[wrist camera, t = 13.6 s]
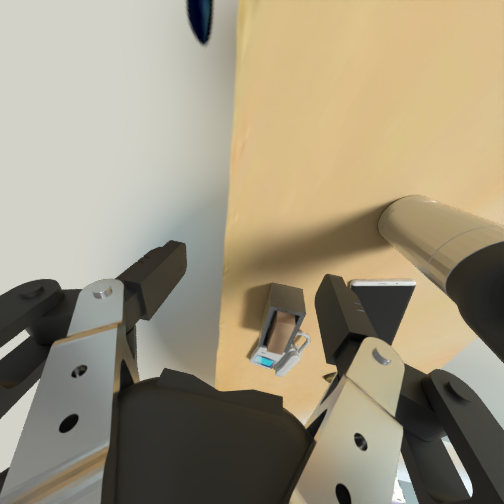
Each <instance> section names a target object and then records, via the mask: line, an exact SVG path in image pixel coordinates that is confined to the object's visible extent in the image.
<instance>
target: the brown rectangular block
mask: <svg viewBox="0 0 504 504" xmlns="http://www.w3.org/2000/svg"><path fill="white" fill-rule="evenodd" d="M295 326H296V325H295V315H294V314H289V313H285V312H280V311H275V314H274V317H273V320H272V323H271V326H270V329H269V332H268V339H267V352H271V353H275V354H279V355H282V354H283V352H284V350H285V348H286V345H287V343H288V341H289V339H290V337H291V334H292V332H293V330H294V328H295Z"/></svg>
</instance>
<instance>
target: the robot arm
mask: <svg viewBox="0 0 504 504" xmlns="http://www.w3.org/2000/svg"><path fill="white" fill-rule="evenodd" d="M378 230H379V232H380V234H381V235H382V237H383V238H385V239H386V240H387V241H388V242H389V243H390V244H391V245H392V246H393V247H394V248H395V249H396V250H398V251H399V252H400V253H401V254H402V255H403V256H404V257H405V258H406V259H407V260H409V261H410V262H411V263H412V264H413V265H414V266H415V267H416V268H417V269H418V270H419V271H421V272H422V273H423V274H424V275H425V276H426V277H427V278H428V279H429V280H430V281H432V282H433V283H434V284H435V285H436V286H437V287H438V288H439V289H441V290H442V291H443V292H444V293H445V294H446V295H447V296H448V297H449V298H450V299H451V300H452V301H454V302H455V303H456V304H457V306H458V309H459V312H460V314H461V316H462V318H463V319H464V321H465V322H466V323H467V325H468V326H469V327H470V328H471V329H472V330H473V331H474V332H475V333H476V334H477V335H478V336H479V337H480V339H482V341H483V342H484V343H485V344H486V345H487V346H488V347H489V348H490V349H491V350H492V351H493V352H494V353H495V354H496V355H497V357H498V358H499V359H500V360H501V361H502V362H503V363H504V225H501V224H498V223H495V222H493V221H490V220H487V219H484V218H482V217H479V216H476V215H473V214H471V213H468V212H465V211H462V210H460V209H457V208H454V207H451V206H449V205H446V204H443V203H441V202H438V201H435V200H432V199H430V198H427V197H424V196H419V195H416V196H408V197H404V198H401V199H399V200H397V201H395V202H394V203H392V204H391V205H390V206H388V207H387V208H386V209H385V210H384V212H383V213H382V215H381V217H380V219H379V223H378ZM186 268H187V259H186V245H185V243H182V242H177V241H173V240H171V241H169V242H168V243H167V244H165V245H164V246H163V247H158V248H155V249H153V250H151V251H149V252H148V253H147V254H145V255H144V257H142V258H140V259H139V260H138V262H135V263H134V264H133V265H132V266H130V267H129V268H128V269H127V270H125V271H124V272H123V273H122V274H120V275H119V276H118V277H117V278H115V279H103V280H99V281H96V282H94V283H92V284H89V285H88V286H86V287H85V288H84V289H70V290H62V289H61V287H60V285H59V283H58V282H57V281H55V280H51V279H41V280H35V281H30V282H27V283H24V284H22V285H19V286H17V287H15V288H13V289H11V290H9V291H8V292H6V293H4V294H2V295H1V296H0V347H2V346H3V345H5V344H6V343H7V342H8V341H10V340H11V339H13V338H14V337H15V336H17V335H18V334H19V333H20V332H22V331H23V330H24V329H25V330H26V331H27V332H28V334H29V335H30V337H28V338H27V339H26V340H25V341H23V342H22V343H21V344H20V345H18V346H17V347H16V348H15V349H13V350H12V351H11V352H10V353H8V354H7V355H6V356H5V357H4V358H2V359H1V360H0V419H1V418H2V416H3V415H5V414H6V413H7V411H8V410H9V409H10V408H11V407H12V406H13V405H14V404H15V403H16V402H17V401H18V400H19V399H20V398H21V397H22V396H23V395H24V394H25V393H26V392H27V391H28V390H29V389H30V388H31V387H32V386H33V385H34V384H35V383H36V382H37V380H39V379H40V381H39V384H38V387H37V390H36V393H35V395H34V399H33V402H32V404H31V407H30V410H29V413H28V416H27V419H26V422H25V424H24V427H23V430H22V433H21V436H20V439H19V442H18V445H17V448H16V451H15V453H14V457H13V459H12V462H11V465H10V467H9V468H7V469H6V470H4V471H3V472H1V473H0V504H391V503H392V497H393V491H394V485H395V479H396V473H397V467H398V461H399V455H400V451H401V453H402V456H403V459H404V462H405V465H406V468H407V471H408V473H409V476H410V479H411V482H412V485H413V488H414V491H415V494H416V496H417V499H418V502H419V504H504V430H503V429H502V427H501V426H500V425H499V423H498V422H497V421H496V419H495V418H494V417H493V415H492V414H491V412H490V411H489V410H488V408H487V407H486V406H485V404H484V403H483V402H482V400H481V399H480V398H479V397H478V395H477V394H476V393H475V392H474V391H473V390H472V389H471V388H470V387H469V386H468V385H467V384H466V383H465V382H463V381H462V380H461V379H459V378H458V377H456V376H455V375H453V374H451V373H449V372H447V371H444V370H440V369H435V370H433V371H432V372H430V373H429V374H428V375H427V374H425V373H423V372H421V371H419V370H417V369H415V368H413V367H411V366H409V365H407V364H405V363H403V361H402V359H401V357H400V356H399V354H398V353H397V352H396V351H395V350H394V349H393V348H392V347H391V346H390V345H388V344H387V343H386V342H384V341H382V340H380V339H379V338H378V336H377V334H376V332H375V330H374V328H373V326H372V324H371V322H370V320H369V318H368V316H367V314H366V313H365V310H364V308H363V306H362V305H361V302H360V300H359V298H358V296H357V295H356V294H355V293H354V292H353V291H352V290H351V289H350V288H348V287H346V284H345V282H344V280H343V278H342V277H340V276H336V275H331V274H326V275H325V276H324V278H323V280H322V282H321V284H320V287H319V289H318V291H317V293H316V295H315V309H316V314H317V318H318V323H319V328H320V333H321V338H322V343H323V348H324V353H325V358H326V363H328V364H332V365H336V367H337V373H336V374H335V375H334V377H333V379H332V381H331V383H330V384H329V386H328V388H327V390H326V391H325V393H324V395H323V397H322V399H321V400H320V402H319V404H318V406H317V407H316V409H315V411H314V412H313V414H312V415H311V416H310V418H309V419H308V421H307V422H306V424H305V426H303V424H302V423H301V422H300V421H299V420H298V419H297V418H296V417H295V416H294V415H293V414H292V413H290V412H289V411H288V410H286V409H285V408H283V397H281V396H277V395H273V394H269V393H265V392H261V391H257V390H239V391H225V392H221V391H218V390H216V389H215V388H213V387H212V386H210V385H208V384H207V383H205V382H204V381H202V380H200V379H199V378H197V377H195V376H194V375H191V374H187V373H183V372H179V371H175V370H171V369H167V368H164V370H163V371H162V373H161V375H160V377H155V378H150V379H146V380H143V381H140V380H139V374H138V367H137V344H136V343H137V342H136V325H135V324H136V323H137V322H138V320H139V319H143V320H148V321H149V320H150V319H151V318H152V316H153V315H154V314H155V312H156V311H157V310H158V308H159V307H160V306H161V304H162V303H163V302H164V301H165V299H166V298H167V297H168V295H169V294H170V293H171V291H172V290H173V289H174V287H175V286H176V285H177V283H178V282H179V281H180V280H181V278H182V277H183V276H184V274H185V272H186ZM444 436H448V438H449V440H450V442H451V443H452V445H453V447H454V449H455V451H456V453H457V455H458V457H459V459H460V460H461V462H462V464H463V466H464V468H465V470H466V472H467V474H468V476H469V478H470V480H471V483H472V488H473V494H472V497H471V498H470V496H469V494H468V492H467V490H466V488H465V486H464V484H463V482H462V480H461V478H460V476H459V474H458V472H457V470H456V468H455V466H454V464H453V462H452V460H451V458H450V456H449V454H448V452H447V450H446V448H445V446H444V444H443V442H442V440H441V438H442V437H444Z"/></svg>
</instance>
